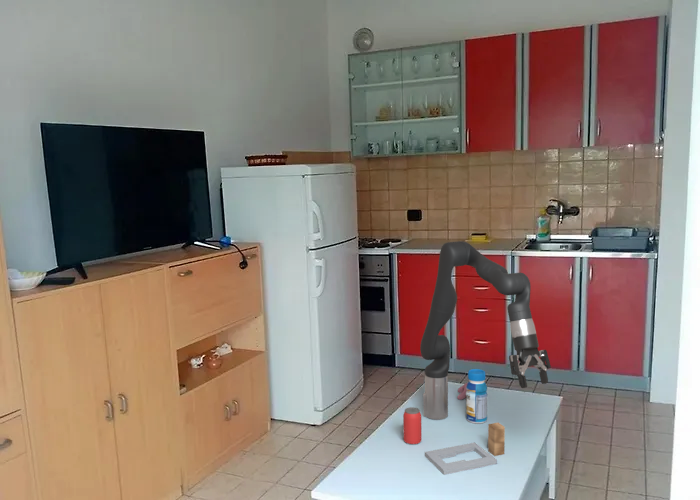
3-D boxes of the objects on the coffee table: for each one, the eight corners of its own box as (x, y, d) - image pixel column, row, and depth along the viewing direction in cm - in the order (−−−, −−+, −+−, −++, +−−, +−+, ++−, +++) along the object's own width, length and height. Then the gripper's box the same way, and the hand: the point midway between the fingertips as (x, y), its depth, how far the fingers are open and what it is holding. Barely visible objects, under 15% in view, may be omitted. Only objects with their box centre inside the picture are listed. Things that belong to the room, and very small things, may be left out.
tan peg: (497, 449, 206) (498, 422, 205) (504, 454, 202) (504, 426, 201) (488, 451, 205) (488, 424, 203) (494, 456, 201) (494, 428, 200)
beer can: (423, 439, 215) (423, 408, 214) (418, 446, 209) (418, 414, 208) (407, 436, 218) (406, 405, 217) (401, 443, 212) (400, 412, 211)
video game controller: (465, 404, 252) (473, 390, 250) (456, 399, 252) (463, 385, 251) (465, 395, 261) (473, 382, 260) (456, 391, 262) (463, 377, 261)
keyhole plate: (474, 446, 208) (474, 442, 208) (496, 463, 195) (496, 459, 195) (424, 456, 202) (424, 451, 202) (443, 474, 189) (443, 470, 189)
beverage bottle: (486, 425, 226) (486, 375, 224) (464, 422, 229) (464, 373, 226) (488, 417, 234) (488, 369, 231) (467, 414, 237) (467, 367, 234)
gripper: (532, 333, 192) (543, 382, 189) (499, 338, 185) (509, 389, 182) (548, 330, 185) (560, 381, 182) (514, 335, 179) (525, 388, 176)
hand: (534, 385), depth 182 cm, fingers open, 8 cm apart
